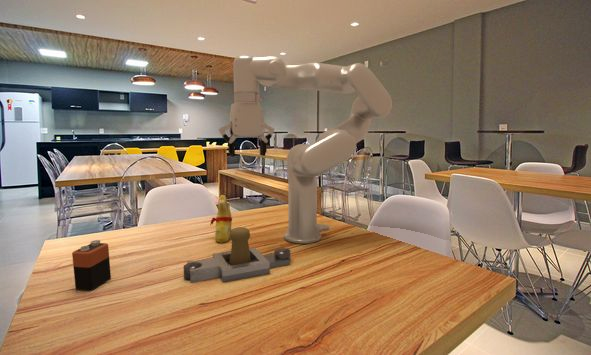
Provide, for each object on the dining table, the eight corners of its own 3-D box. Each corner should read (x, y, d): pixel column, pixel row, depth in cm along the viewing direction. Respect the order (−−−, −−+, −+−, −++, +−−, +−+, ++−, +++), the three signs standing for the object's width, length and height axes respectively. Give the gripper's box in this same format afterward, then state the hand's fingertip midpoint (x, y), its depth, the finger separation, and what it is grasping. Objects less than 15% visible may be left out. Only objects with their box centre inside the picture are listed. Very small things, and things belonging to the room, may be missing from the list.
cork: (247, 274, 85) (246, 232, 83) (225, 272, 86) (224, 230, 84) (255, 265, 90) (254, 225, 89) (234, 263, 92) (233, 224, 90)
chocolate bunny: (234, 233, 118) (233, 191, 116) (229, 243, 107) (227, 198, 105) (214, 233, 118) (213, 191, 116) (207, 244, 107) (206, 198, 105)
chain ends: (281, 253, 99) (281, 243, 99) (298, 268, 88) (298, 257, 88) (181, 269, 87) (180, 258, 87) (187, 289, 77) (186, 276, 76)
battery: (112, 278, 82) (108, 239, 81) (91, 291, 76) (88, 249, 74) (95, 277, 83) (92, 238, 81) (74, 290, 76) (70, 248, 75)
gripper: (269, 101, 108) (269, 154, 110) (215, 99, 101) (217, 156, 103) (277, 99, 101) (278, 155, 104) (220, 97, 94) (222, 157, 96)
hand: (247, 155), depth 103 cm, fingers open, 9 cm apart
